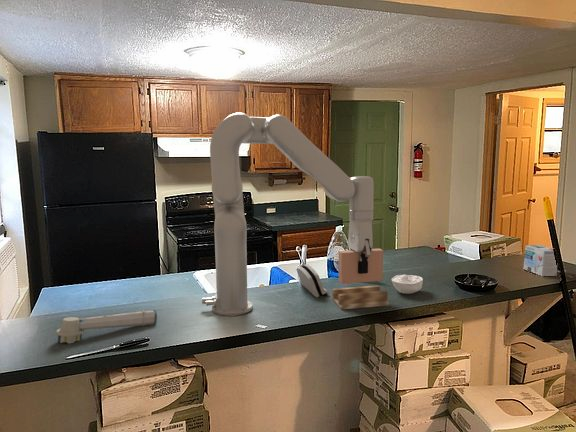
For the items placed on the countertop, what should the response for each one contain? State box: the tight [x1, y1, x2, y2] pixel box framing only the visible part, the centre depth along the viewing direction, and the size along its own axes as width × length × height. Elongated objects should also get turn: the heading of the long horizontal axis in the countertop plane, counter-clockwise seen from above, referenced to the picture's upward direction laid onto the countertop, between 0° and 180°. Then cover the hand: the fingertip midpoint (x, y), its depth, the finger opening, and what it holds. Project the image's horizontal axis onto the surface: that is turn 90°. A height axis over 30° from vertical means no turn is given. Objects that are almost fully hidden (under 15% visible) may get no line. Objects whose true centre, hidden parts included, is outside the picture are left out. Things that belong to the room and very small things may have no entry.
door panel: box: [338, 248, 384, 285], centre depth 139 cm, size 14×3×10 cm, turn 102°
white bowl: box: [391, 274, 424, 295], centre depth 151 cm, size 10×12×7 cm
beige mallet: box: [55, 309, 158, 344], centre depth 118 cm, size 5×7×25 cm
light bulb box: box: [523, 244, 558, 276], centre depth 173 cm, size 11×7×11 cm, turn 10°
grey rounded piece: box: [295, 264, 330, 298], centre depth 154 cm, size 17×5×10 cm, turn 16°
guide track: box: [331, 284, 390, 310], centre depth 141 cm, size 16×10×4 cm, turn 102°
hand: (360, 271), depth 140 cm, fingers closed on door panel, 3 cm apart
